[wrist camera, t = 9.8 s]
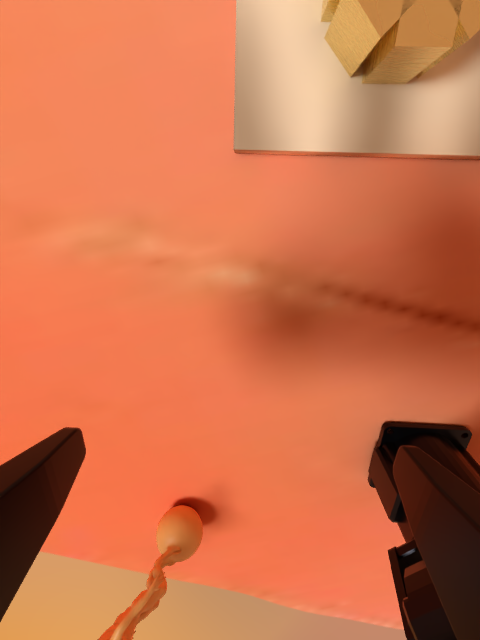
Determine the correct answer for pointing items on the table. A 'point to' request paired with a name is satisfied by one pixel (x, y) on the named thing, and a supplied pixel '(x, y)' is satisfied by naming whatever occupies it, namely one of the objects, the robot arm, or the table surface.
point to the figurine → (160, 567)
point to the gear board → (343, 94)
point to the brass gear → (397, 35)
